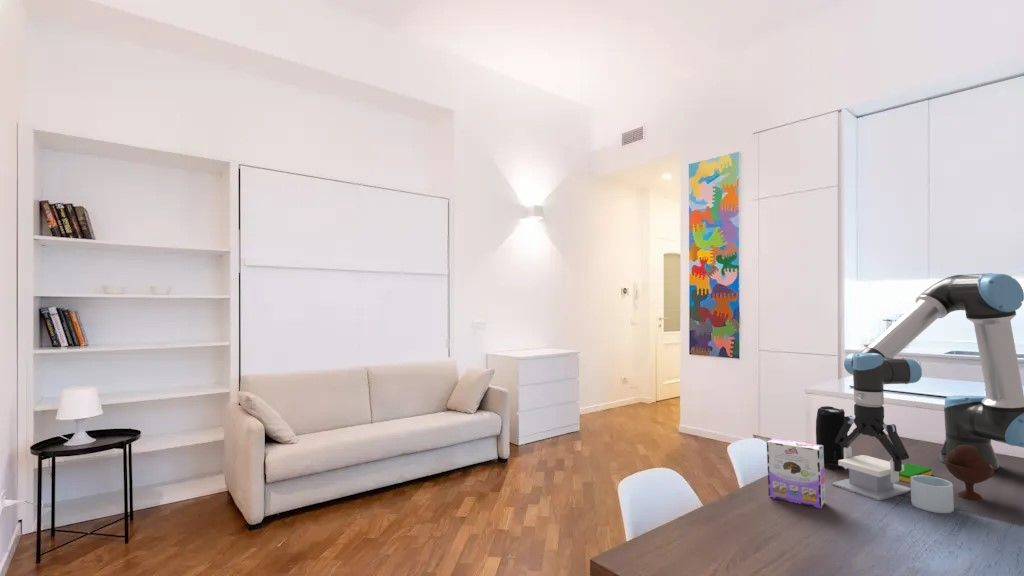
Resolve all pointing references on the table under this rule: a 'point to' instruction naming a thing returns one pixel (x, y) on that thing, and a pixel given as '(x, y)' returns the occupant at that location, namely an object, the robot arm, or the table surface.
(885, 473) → the white flat square block
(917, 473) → the dish sponge
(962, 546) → the table surface
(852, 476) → the stand
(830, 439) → the portable speaker
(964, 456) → the ice cream bowl
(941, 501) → the ceramic bowl
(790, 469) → the candy box
